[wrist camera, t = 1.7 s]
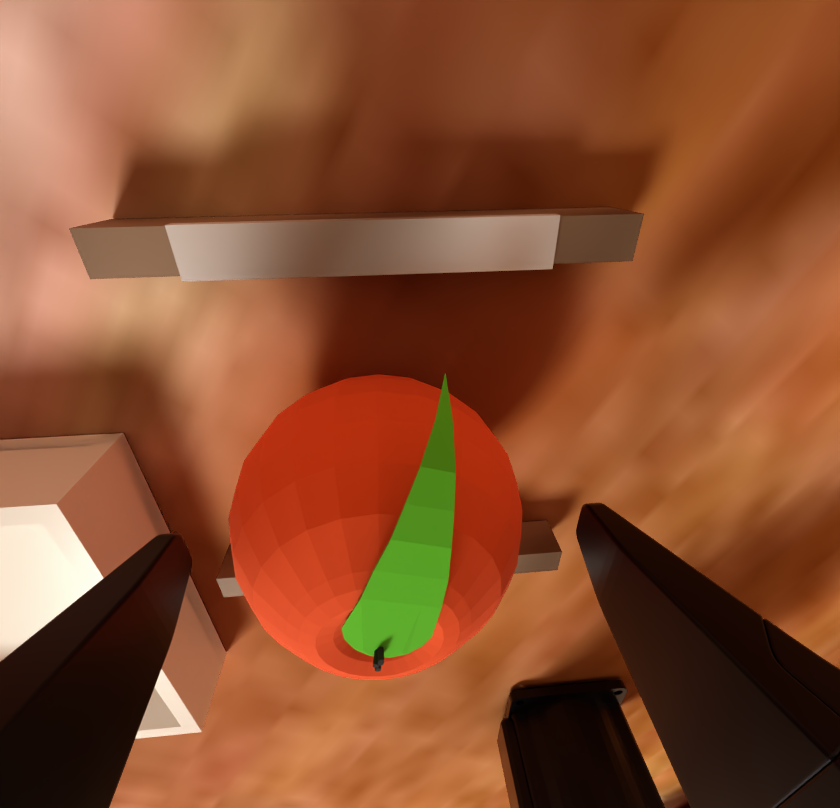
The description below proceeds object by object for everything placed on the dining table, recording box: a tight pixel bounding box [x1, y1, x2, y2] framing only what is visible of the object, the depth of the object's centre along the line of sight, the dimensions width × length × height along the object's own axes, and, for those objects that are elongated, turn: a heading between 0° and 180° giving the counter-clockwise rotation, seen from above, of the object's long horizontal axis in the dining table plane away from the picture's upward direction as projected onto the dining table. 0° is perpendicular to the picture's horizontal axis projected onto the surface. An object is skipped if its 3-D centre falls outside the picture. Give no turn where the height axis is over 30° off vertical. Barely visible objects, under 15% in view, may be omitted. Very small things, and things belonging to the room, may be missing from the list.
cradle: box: [69, 207, 644, 597], centre depth 12 cm, size 12×12×2 cm
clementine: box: [229, 373, 522, 680], centre depth 10 cm, size 8×7×7 cm
